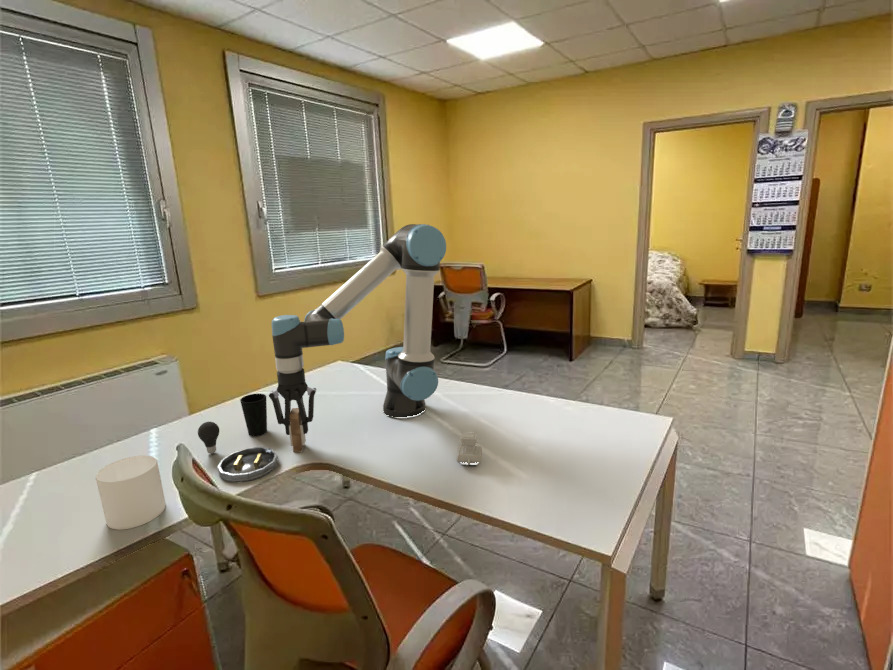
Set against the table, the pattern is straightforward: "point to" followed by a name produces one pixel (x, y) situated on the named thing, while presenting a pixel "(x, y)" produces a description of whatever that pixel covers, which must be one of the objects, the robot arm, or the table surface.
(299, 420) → the tapered wood plank
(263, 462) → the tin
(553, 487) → the table surface
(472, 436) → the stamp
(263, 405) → the cup
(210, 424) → the light bulb
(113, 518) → the cup
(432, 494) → the table surface
